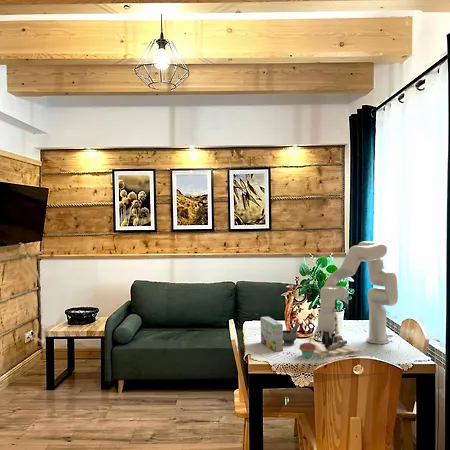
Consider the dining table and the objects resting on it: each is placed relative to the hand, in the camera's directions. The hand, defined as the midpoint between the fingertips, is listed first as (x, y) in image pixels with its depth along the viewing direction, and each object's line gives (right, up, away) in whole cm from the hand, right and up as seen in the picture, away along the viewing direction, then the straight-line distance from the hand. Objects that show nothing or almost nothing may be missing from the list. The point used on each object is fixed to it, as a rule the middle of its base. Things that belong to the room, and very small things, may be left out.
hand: (327, 344), depth 283 cm
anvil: (+9, -3, +20) cm, 22 cm away
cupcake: (-11, -6, -4) cm, 13 cm away
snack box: (-28, -5, +16) cm, 33 cm away
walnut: (+10, -3, +17) cm, 21 cm away
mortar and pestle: (-17, -5, +22) cm, 28 cm away
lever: (+6, -3, +7) cm, 9 cm away
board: (+3, -5, +8) cm, 10 cm away
